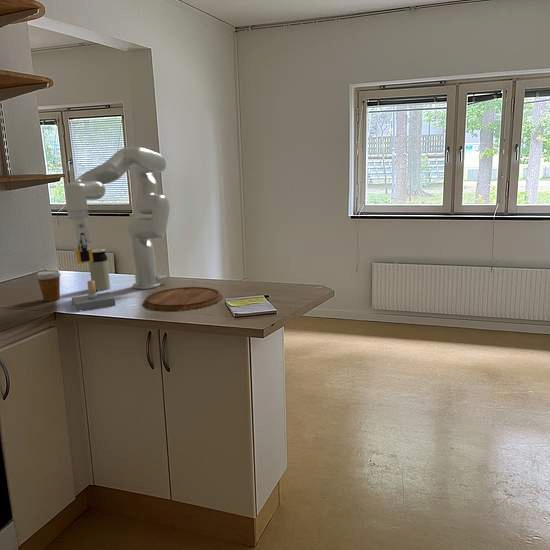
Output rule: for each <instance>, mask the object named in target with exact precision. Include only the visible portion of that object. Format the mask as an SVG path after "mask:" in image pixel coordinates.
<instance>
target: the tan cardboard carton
mask: <svg viewBox="0 0 550 550" xmlns="http://www.w3.org/2000/svg"><path fill="white" fill-rule="evenodd" d="M92 250H93V249H92V248H91V247H88V251H89V258H90V261H85V262H81V256H80V252H81V251H80V248H78V247H77V248H74V249H73V252H74V258H75V263H76V264H85V263H87V264H88V263H89V262H93V255H92Z"/></svg>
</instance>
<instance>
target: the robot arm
mask: <svg viewBox="0 0 550 550" xmlns="http://www.w3.org/2000/svg"><path fill="white" fill-rule="evenodd" d="M166 166H167V162H166V159H165V157H164V156H163V154H161V153H159V152H156V151H153V150H151V149H148V148H146V147H141V146H131V147H123V148H121V149H119V150H117V151H116V152H115V153H114V154H113V155H112V156H110V157H109V158H108V159H107V160H106V161H105V162H104V163H102V164H100V165H98V166H95V167H93V168H92V169H89V170H87V171H85V172H84V173H82V174H81V175H79V176H78V178H76V179H75V180H74V181H73V182H69V183H65V184H64V195H65V201H66V203H65V204H66V209H67V217H68V220H70V221H71V222H72V231H73V237H74V241H75V243H76V244H77V249H78V248H80V251H81V252H80V256H81V262H85V261H90V258H89V251H88V244H91V236H90V229H89V224H88V219H89V218H90V215H89V207H88V202H87V201H88V200H89V201H94V200H95V201H96V200H100V199H102V198H104V196H105V194H106V187H105V185H106V184H110V183H113V182H116V181H118V180H119V179H120V178H122V177H123V176H124V174H126V173H127V172H128V171H130V169H131V170H132V171H133V173H134V175H135V177H136V179H137V182H138V183H137V185H138V186H137V193H136V199H135V205H134V206H135V207H134V208H135V212H136V213H137V214H139V215H141V216H151V217H135V218H133V219H131V220H130V221H129V223H128V226H127V230H128V235H129V238H130V243H131V249H132V258H133V259H132V260H133V268H134V270H133V271H134V281H135V283H133V284H132V288H133V289H138V290H146V289H147V290H148V289H153V288H158V287H159V286H160V285H161V281H166V280H168V276H167V275H157V268H156V257H155V248H154V245H153V242H152V240H161V239H162V238H163V237H164V236H165V235H166V232H167V227H168V221H169V220H168V219H169V215H170V202H169V199H168V198H167V197H166V196H165V195H164V194H158V193H157V192H158V182H157V180H156V177H155V176H154V174H160V173H162V172H164V171H165V169H166Z"/></svg>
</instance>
